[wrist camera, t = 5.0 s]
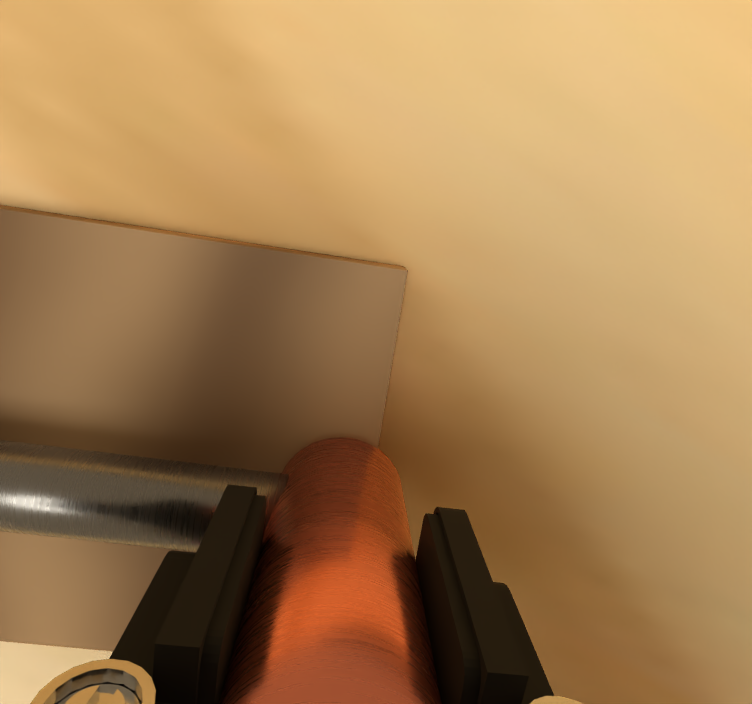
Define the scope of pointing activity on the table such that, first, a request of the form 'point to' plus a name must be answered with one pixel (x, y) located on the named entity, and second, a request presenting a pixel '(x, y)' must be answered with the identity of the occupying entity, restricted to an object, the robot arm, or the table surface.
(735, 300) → the table surface
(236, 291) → the eye stand
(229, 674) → the lever
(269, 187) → the table surface
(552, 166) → the table surface
